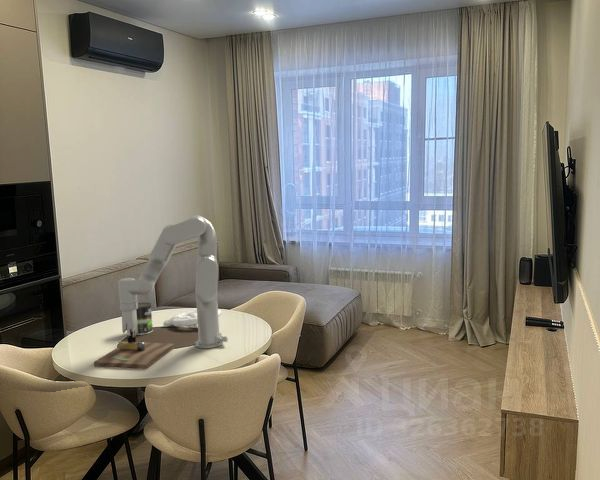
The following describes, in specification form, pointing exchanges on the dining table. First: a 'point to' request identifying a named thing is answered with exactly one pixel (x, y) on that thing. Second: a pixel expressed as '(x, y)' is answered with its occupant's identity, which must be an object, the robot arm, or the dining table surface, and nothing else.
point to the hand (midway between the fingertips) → (132, 345)
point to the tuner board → (135, 356)
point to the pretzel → (184, 319)
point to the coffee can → (144, 319)
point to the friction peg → (132, 345)
